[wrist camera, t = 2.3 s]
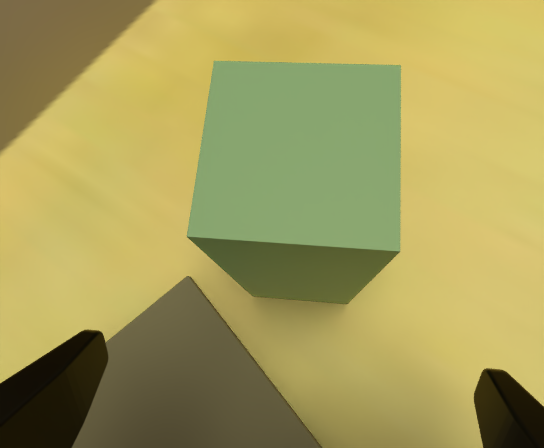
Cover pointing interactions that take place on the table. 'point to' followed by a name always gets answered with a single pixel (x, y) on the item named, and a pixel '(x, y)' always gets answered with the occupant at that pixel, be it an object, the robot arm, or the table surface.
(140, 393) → the rubber mat
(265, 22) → the table surface
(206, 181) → the teal block
